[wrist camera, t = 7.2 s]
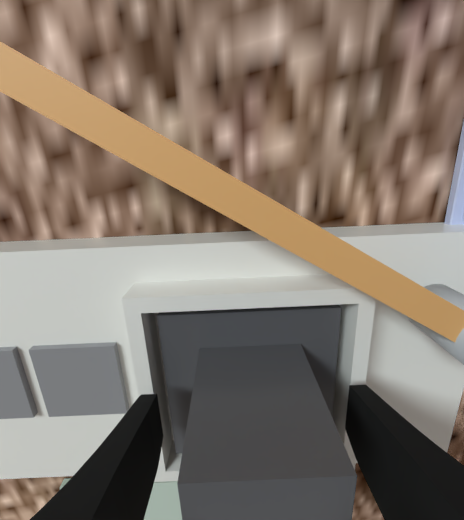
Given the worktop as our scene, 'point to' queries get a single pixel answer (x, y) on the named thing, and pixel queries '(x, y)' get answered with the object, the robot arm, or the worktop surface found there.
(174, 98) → the worktop surface
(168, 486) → the mat
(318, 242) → the hammer
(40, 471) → the white panel
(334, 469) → the plug
